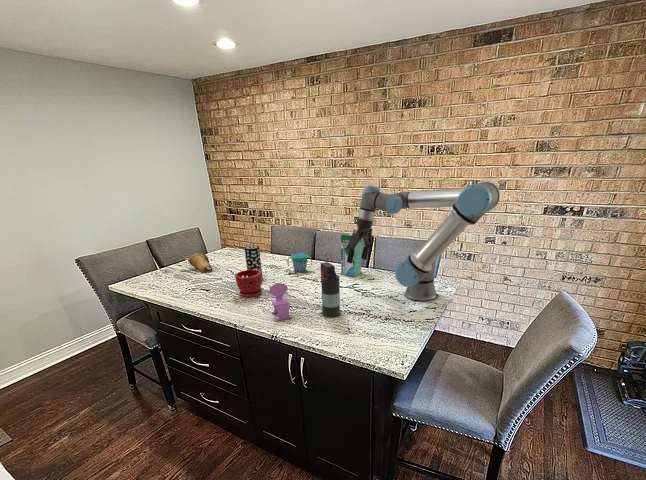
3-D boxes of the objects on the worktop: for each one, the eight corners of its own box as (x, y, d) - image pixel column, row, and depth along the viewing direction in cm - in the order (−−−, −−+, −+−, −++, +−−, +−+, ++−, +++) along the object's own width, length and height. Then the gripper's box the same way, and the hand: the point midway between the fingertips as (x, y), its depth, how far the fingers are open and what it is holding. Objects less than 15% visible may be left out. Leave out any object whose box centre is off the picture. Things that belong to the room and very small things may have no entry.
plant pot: (254, 288, 188) (252, 267, 183) (267, 294, 179) (265, 272, 174) (233, 294, 179) (230, 273, 175) (246, 301, 171) (243, 278, 166)
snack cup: (313, 268, 220) (312, 253, 216) (311, 273, 210) (310, 257, 206) (289, 268, 221) (288, 253, 217) (286, 273, 211) (285, 257, 207)
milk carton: (361, 272, 210) (361, 232, 200) (354, 276, 203) (354, 235, 193) (348, 270, 214) (348, 231, 204) (341, 274, 207) (340, 233, 197)
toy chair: (275, 321, 149) (272, 289, 143) (270, 313, 156) (267, 283, 150) (293, 318, 152) (291, 286, 146) (287, 310, 159) (285, 280, 153)
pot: (195, 261, 206) (184, 247, 216) (190, 277, 210) (179, 263, 220) (221, 264, 219) (209, 251, 229) (216, 279, 223) (204, 265, 233)
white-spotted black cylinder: (245, 282, 197) (241, 248, 189) (253, 277, 204) (250, 245, 196) (257, 283, 194) (253, 249, 186) (265, 279, 201) (262, 246, 194)
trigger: (320, 283, 155) (320, 269, 153) (326, 282, 156) (326, 268, 154) (322, 284, 154) (321, 270, 151) (328, 283, 155) (327, 269, 152)
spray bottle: (317, 310, 159) (315, 263, 150) (332, 306, 162) (331, 260, 153) (327, 319, 150) (325, 269, 141) (343, 315, 154) (342, 266, 145)
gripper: (371, 216, 174) (363, 255, 182) (344, 217, 154) (336, 261, 162) (384, 220, 170) (375, 259, 178) (358, 222, 150) (349, 266, 159)
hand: (356, 260), depth 170 cm, fingers open, 13 cm apart
